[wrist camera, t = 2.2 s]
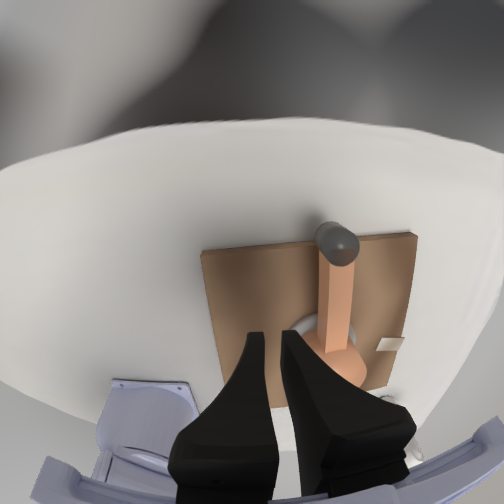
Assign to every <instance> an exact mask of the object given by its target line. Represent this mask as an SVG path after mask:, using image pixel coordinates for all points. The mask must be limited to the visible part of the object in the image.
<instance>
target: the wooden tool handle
mask: <svg viewBox="0 0 504 504" xmlns="http://www.w3.org/2000/svg"><path fill="white" fill-rule="evenodd" d="M315 244H316V246H317V248H318V249H319V299H318V326H317V328H314V329H312V330H310V331H308V332H307V333H305V334H304V335H303V336H302V338H303V339H304V340H305V342H306V343H307V344H308V345H309V346H310V347H311V348H312V350H313V351H314V352H315V353H316V354H317V355H318V356H319V357H320V358H321V359H322V360H323V361H324V362H325V363H326V364H327V365H328V366H330V367H331V368H332V369H333V370H334V371H335V372H336V373H338V374H339V375H340V376H342V377H343V378H344V379H346V380H347V381H349V382H350V383H352V384H353V385H355V386H357V387H360V386H361V385H362V383H363V382H364V380H365V378H366V374H367V368H366V365H365V363H364V361H363V360H362V358H361V356H360V354H359V352H358V351H357V349H356V347H355V345H354V343H353V342H352V340H351V338H350V336H349V334H348V332H349V323H350V314H351V304H352V293H353V280H354V264H355V259H356V258H357V256H358V254H359V250H360V244H359V240H358V238H357V237H356V236H355V235H354V234H353V233H352V232H350V231H349V230H348V229H346V228H345V227H343V226H342V225H340V224H339V223H337V222H333V221H330V222H326V223H324V224H322V225H321V226H320V227H319V228H318V229H317V231H316V233H315Z"/></svg>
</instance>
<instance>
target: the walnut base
mask: <svg viewBox="0 0 504 504" xmlns="http://www.w3.org/2000/svg"><path fill="white" fill-rule="evenodd" d="M357 238H358V240H359V244H360V250H359V254H358V256H357V258H356V259H355V264H354V280H353V293H352V304H351V314H350V323H349V332H348V334H349V336H350V338H351V340H352V342H353V343H354V345H355V347H356V349H357V351H358V352H359V354H360V356H361V358H362V360H363V361H364V363H365V365H366V368H367V374H366V378H365V380H364V382H363V383H362V385H361V386H360V387H359V388H360V389H362V390H364V391H369V390H373V389H377V388H381V387H384V386H387V383H388V380H389V377H390V374H391V371H392V367H393V364H394V361H395V357H396V354H397V351H398V350H399V348H400V346H401V344H402V342H403V340H404V337H401V335H402V331H403V326H404V322H405V317H406V313H407V308H408V303H409V297H410V292H411V286H412V280H413V273H414V266H415V258H416V250H417V240H418V236H417V235H415V234H413V233H411V232H406V233H395V234H383V235H371V236H360V237H357ZM200 257H201V263H202V269H203V276H204V281H205V287H206V293H207V299H208V304H209V310H210V315H211V320H212V326H213V331H214V336H215V341H216V346H217V351H218V355H219V360H220V365H221V370H222V374H223V379H224V383H225V385H226V383H227V382H228V380H229V378H230V377H231V375H232V373H233V371H234V369H235V368H236V366H237V364H238V362H239V359H240V357H241V354H242V352H243V349H244V346H245V343H246V338H247V334H248V333H249V332H262V331H263V333H264V338H265V381H266V388H267V394H268V400H269V406H270V408H279V407H287V406H288V402H287V399H286V395H285V391H284V387H283V383H282V376H281V368H280V355H281V337H282V330H296V331H297V332H298V333H299V334H300V335H301V337H302V336H303V335H304V334H305V333H307V332H308V331H310V330H312V329H314V328H317V326H318V299H319V249H318V248H317V246H316V244H315V241H304V242H293V243H282V244H271V245H260V246H250V247H239V248H229V249H218V250H208V251H202V254H201V256H200Z"/></svg>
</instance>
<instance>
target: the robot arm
mask: <svg viewBox="0 0 504 504" xmlns="http://www.w3.org/2000/svg"><path fill="white" fill-rule="evenodd" d="M280 368H281V376H282V383H283V387H284V391H285V395H286V399H287V402H288V406H289V410H290V414H291V417H292V421H293V426H294V432H295V439H296V447H297V454H298V463H299V472H300V483H301V496H302V497H298V498H290V499H281V500H272V497H273V491H274V488H275V484H276V478H277V472H278V466H279V451H278V444H277V440H276V436H275V431H274V426H273V422H272V417H271V411H270V406H269V400H268V394H267V388H266V381H265V338H264V333H263V331H262V332H249V333H248V334H247V338H246V343H245V346H244V349H243V352H242V354H241V357H240V359H239V362H238V364H237V366H236V368H235V369H234V371H233V373H232V375H231V377H230V378H229V380H228V382H227V383H226V385H225V386H224V388H223V389H222V390H221V392H220V393H219V394H218V396H217V397H216V398H215V399H214V400H213V402H212V403H211V404H210V405H209V406H208V407H207V408H206V409H205V410H204V411H203V412H202V413H201V414H200V415H199V412H198V409H197V407H196V404H195V401H194V399H193V396H192V393H191V390H190V387H189V385H188V384H186V383H155V382H136V381H122V380H112V381H111V385H112V387H113V389H112V391H111V393H110V395H109V398H108V400H107V402H106V404H105V407H104V409H103V411H102V414H101V416H100V418H99V421H98V424H97V429H96V440H97V445H98V447H99V449H100V451H101V452H100V454H99V456H98V459H97V462H96V465H95V468H94V470H93V473H92V477H91V478H89V477H86V476H83V475H81V474H80V472H79V471H78V470H77V469H75V468H74V467H73V466H71V465H69V464H67V463H65V462H62V461H60V460H58V459H55V458H53V457H51V456H47V457H46V459H45V461H44V464H43V466H42V468H41V471H40V473H39V475H38V478H37V480H36V483H35V485H34V488H33V490H32V493H31V496H30V499H31V500H33V501H34V502H35V503H37V504H450V503H451V502H453V501H454V500H456V499H458V498H459V497H461V496H462V495H464V494H465V493H467V492H468V491H470V490H471V489H472V488H474V487H475V486H477V485H478V484H480V483H481V482H482V481H484V480H485V479H486V478H488V477H489V476H490V475H491V474H493V473H494V472H495V471H496V470H497V469H498V468H499V467H500V466H502V465H503V464H504V424H503V423H502V422H501V420H500V419H499V418H498V416H495V417H494V418H492V419H491V420H489V421H487V422H486V423H484V424H483V425H482V426H481V427H480V428H479V429H478V430H477V431H476V432H475V433H474V434H473V436H472V437H471V438H470V439H468V440H466V441H464V442H462V443H461V444H459V445H457V446H455V447H453V448H452V449H450V450H448V451H446V452H444V453H442V454H440V455H438V456H436V457H434V458H432V459H430V460H428V461H425V462H423V463H421V464H418V465H416V466H413V467H411V468H409V469H408V467H407V465H406V463H405V460H404V459H405V458H406V453H405V451H404V448H405V447H406V446H407V444H408V443H409V442H410V440H411V439H412V438H413V436H414V434H415V432H416V428H417V426H416V424H415V422H414V421H413V419H412V417H411V415H410V413H409V412H408V411H407V409H406V408H405V407H403V406H400V405H397V404H394V403H391V402H388V401H385V400H383V399H380V398H378V397H376V396H374V395H371V394H369V393H368V392H366V391H364V390H362V389H360V388H359V387H357V386H355V385H353V384H352V383H350V382H349V381H347V380H346V379H344V378H343V377H342V376H340V375H339V374H338V373H336V372H335V371H334V370H333V369H332V368H331V367H330V366H328V365H327V364H326V363H325V362H324V361H323V360H322V359H321V358H320V357H319V356H318V355H317V354H316V353H315V352H314V351H313V350H312V348H311V347H310V346H309V345H308V344H307V343H306V342H305V340H304V339H303V338H302V337H301V335H300V334H299V333H298V332H297V331H296V330H282V337H281V355H280Z"/></svg>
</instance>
